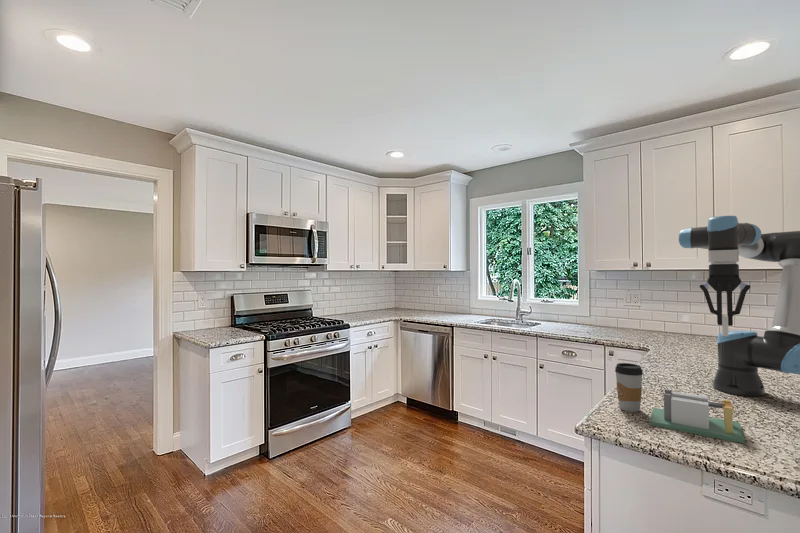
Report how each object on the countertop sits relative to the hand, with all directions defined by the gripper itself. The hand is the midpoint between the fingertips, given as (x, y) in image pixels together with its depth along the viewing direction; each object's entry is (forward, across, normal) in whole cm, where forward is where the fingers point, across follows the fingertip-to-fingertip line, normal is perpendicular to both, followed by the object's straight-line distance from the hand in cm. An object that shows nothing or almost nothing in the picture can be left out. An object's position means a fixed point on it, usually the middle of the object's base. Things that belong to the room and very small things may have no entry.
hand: (725, 335), depth 124 cm
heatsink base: (+26, +9, +15) cm, 32 cm away
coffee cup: (+27, +26, +10) cm, 39 cm away
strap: (+20, +7, +15) cm, 26 cm away
